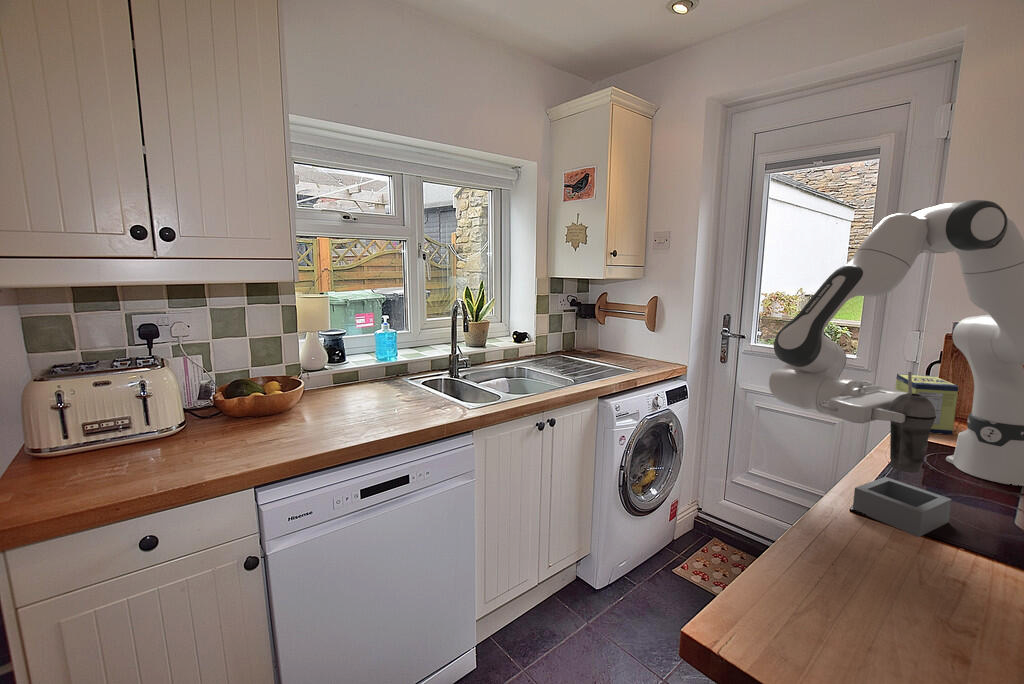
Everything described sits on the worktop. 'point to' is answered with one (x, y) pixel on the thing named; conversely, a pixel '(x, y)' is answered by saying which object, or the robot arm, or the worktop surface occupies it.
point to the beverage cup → (910, 430)
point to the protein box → (934, 398)
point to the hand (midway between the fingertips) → (916, 415)
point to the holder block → (902, 505)
